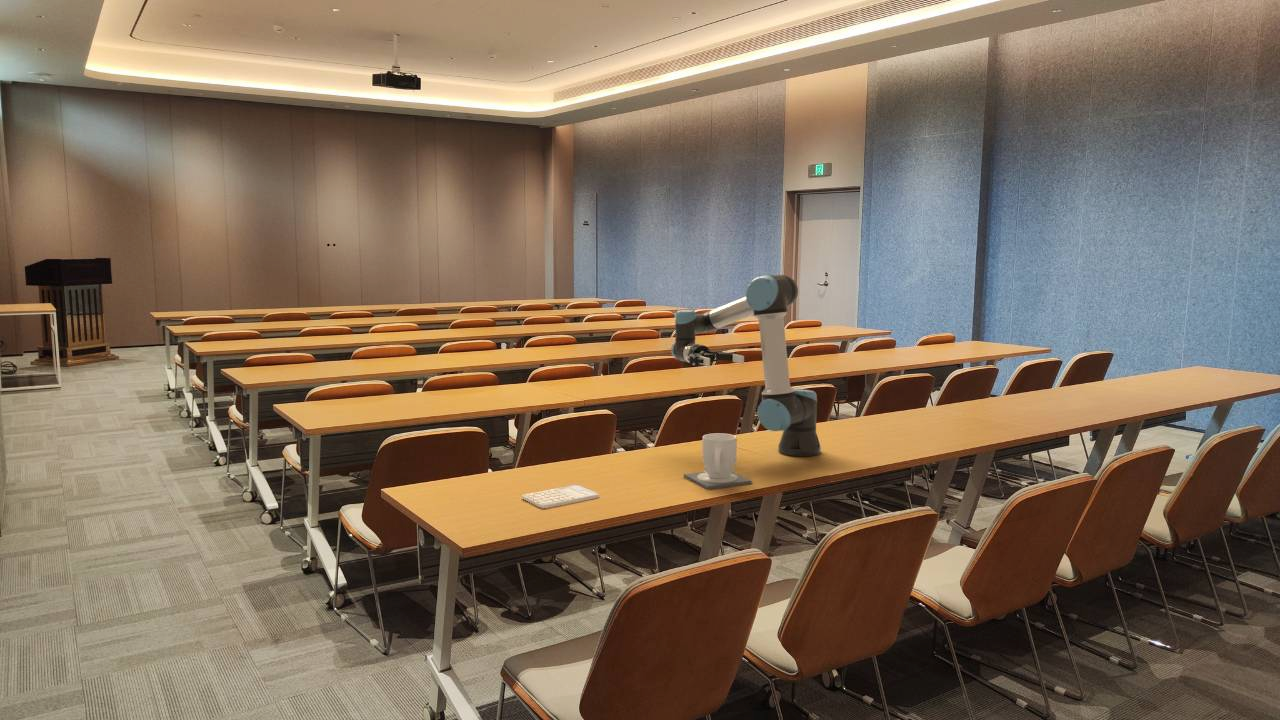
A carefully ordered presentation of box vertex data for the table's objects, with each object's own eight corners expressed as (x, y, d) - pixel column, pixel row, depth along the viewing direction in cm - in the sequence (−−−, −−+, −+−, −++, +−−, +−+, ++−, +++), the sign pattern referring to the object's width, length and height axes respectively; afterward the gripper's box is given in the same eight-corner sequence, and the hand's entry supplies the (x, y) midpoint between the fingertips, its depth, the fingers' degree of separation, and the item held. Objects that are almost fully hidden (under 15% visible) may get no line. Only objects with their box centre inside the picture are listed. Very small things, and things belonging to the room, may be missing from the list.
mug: (735, 485, 267) (735, 443, 265) (699, 483, 269) (699, 442, 267) (737, 472, 282) (737, 433, 280) (703, 471, 283) (703, 432, 282)
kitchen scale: (726, 471, 287) (726, 468, 287) (751, 483, 273) (751, 479, 273) (683, 477, 281) (683, 473, 281) (707, 489, 266) (707, 485, 266)
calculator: (520, 500, 258) (520, 494, 258) (577, 489, 270) (577, 483, 269) (542, 511, 247) (542, 504, 247) (600, 499, 259) (600, 492, 259)
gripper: (726, 362, 324) (756, 369, 305) (667, 366, 314) (694, 374, 295) (726, 342, 323) (757, 348, 304) (667, 346, 313) (694, 352, 294)
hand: (726, 361), depth 299 cm, fingers open, 13 cm apart
